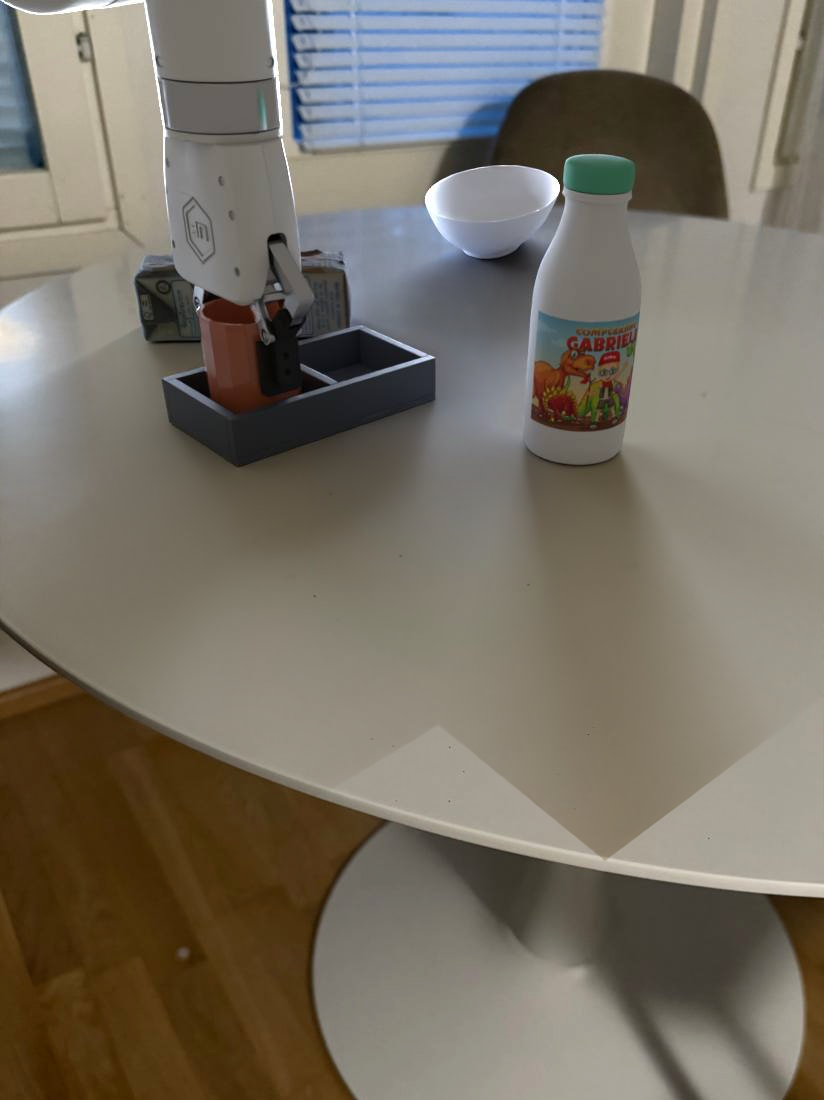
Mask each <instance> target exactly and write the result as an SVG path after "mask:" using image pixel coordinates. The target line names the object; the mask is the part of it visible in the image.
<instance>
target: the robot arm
mask: <svg viewBox="0 0 824 1100" xmlns="http://www.w3.org/2000/svg"><path fill="white" fill-rule="evenodd" d="M0 1H1V2H3V3H4V4H6V5H8V6H10V7H12V8H13V9H17V10H20V11H22V12H25V13H29V14H35V15H54V14H55V15H56V14H64V13H71V12H78V11H85V10H99V9H107V8H114V7H120V6H126V5H133V4H134V5H135V4H139V3H144V9H145V18H146V23H147V29H148V35H149V42H150V49H151V55H152V62H153V69H154V75H155V80H156V87H157V93H158V100H159V107H160V113H161V120H162V127H163V128H162V129H163V149H162V151H163V177H164V178H163V179H164V190H165V201H166V211H167V212H166V213H167V221H168V228H169V237H170V245H171V252H172V255H173V259H174V264H175V268H176V270H177V272H178V273H179V274H180V275H181V276H182V277H183V278H184V279H185V280H187V281H189V283H190V285H191V286H192V288H193V290H194V294H193V303H194V306H195V308H196V309H197V310H198V308H199V307H200V306H201V305H202V304H204V303H206V302H208V301H210V300H213V299H217V298H223V299H225V300H228V301H230V302H232V303H234V304H237V305H240V306H246V305H250V308H251V311H252V314H253V317H254V320H255V323H256V326H257V328H258V331H259V334H260V337H261V341H257V342H255V343H256V352H257V360H258V369H259V378H260V386H261V393H262V394H263V395H265V396H266V397H272V396H276V395H279V394H282V393H286V392H289V391H292V390H296V389H299V388H300V387H301V385H302V377H301V366H300V355H299V343H298V341H299V338H301V337H300V336H301V335H302V326H303V324H304V323H305V322H306V318H307V317H306V315H307V314H308V312H309V310H310V308H311V307H312V305H313V303H314V294H313V292H312V290H311V288H310V287H309V285H308V283H307V281H306V280H305V278H304V276H303V275H302V273H301V255H300V252H301V247H300V246H301V243H300V235H299V227H298V221H297V213H296V206H295V198H294V191H293V186H292V181H291V175H290V169H289V165H288V159H287V156H286V152H285V151H286V150H285V147H284V141H283V139H282V136H283V135H284V130H283V118H282V106H281V94H280V81H279V76H278V75H279V71H278V70H279V69H278V60H277V47H276V35H275V25H274V13H273V1H272V0H0ZM265 286H268V287H270V288H272V289H275V290H276V291H275V292H271V293H267V294H263V292H264V289H265ZM277 302H278V305H279V308H280V309H279V310H278V311H277V312H276V314H275V316H274V317H273V319H272V320H270V317H269V314H268V312H267V309H266V306H265V305H268V304H272V303H277Z"/></svg>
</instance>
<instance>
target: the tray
mask: <svg viewBox="0 0 824 1100" xmlns="http://www.w3.org/2000/svg"><path fill="white" fill-rule="evenodd" d="M298 343H299V355H300V366H301V377H302V385H301V391H302V394H301V395H297V396H294V397H291V398H288V399H284V400H281V401H278V402H274V403H271V404H268V405H265V406H261V407H258V408H255V409H252V410H248V411H245V412H242V413H238V414H234V413H232V412H231V411H229V410H227V409H225V408H224V407H222V406H220V405H219V404H217V403H215V402H214V401H212V400H210V399H209V392H208V385H207V379H206V372H205V366H200V367H198V368H193V369H190V370H186V371H182V372H179V373H175V374H171V375H167V376H164V377H161V384H162V390H163V395H164V396H163V397H164V402H165V408H166V412H167V418H168V422H169V423H170V424H171V425H173V426H174V427H176V428H178V429H179V430H180V431H182V432H183V433H185V434H187V435H188V436H190V437H191V438H192V439H194V440H196V441H197V442H199V443H200V444H202V445H204V446H205V447H207V448H208V449H209V450H211V451H213V452H214V453H216V454H218V455H219V456H220V457H222V458H223V459H225V460H226V461H228V462H229V463H231V464H233V465H234V466H236V467H241V466H245V465H248V464H251V463H254V462H256V461H260V460H263V459H265V458H268V457H271V456H274V455H277V454H280V453H283V452H286V451H289V450H291V449H295V448H297V447H300V446H304V445H307V444H309V443H312V442H315V441H318V440H321V439H324V438H327V437H330V436H333V435H336V434H338V433H341V432H344V431H347V430H350V429H353V428H356V427H360V426H362V425H366V424H367V423H371V422H374V421H376V420H380V419H383V418H385V417H388V416H392V415H394V414H397V413H401V412H403V411H407V410H409V409H412V408H414V407H418V406H420V405H423V404H427V403H430V402H432V401H435V400H436V365H437V364H436V362H437V361H436V359H437V358H436V356H435V357H434V356H432V355H430V354H427V353H425V352H423V351H420V350H418V349H416V348H414V347H412V346H409V345H407V344H405V343H403V342H401V341H398V340H395V339H393V338H391V337H389V336H386V335H384V334H382V333H380V332H378V331H375V330H372V329H370V328H369V327H367V326H364V325H362V324H358V325H354V326H350V328H347V329H343V330H340V331H336V332H332V333H328V334H325V335H321V336H317V337H309V338H307V339H302V340H298Z"/></svg>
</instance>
